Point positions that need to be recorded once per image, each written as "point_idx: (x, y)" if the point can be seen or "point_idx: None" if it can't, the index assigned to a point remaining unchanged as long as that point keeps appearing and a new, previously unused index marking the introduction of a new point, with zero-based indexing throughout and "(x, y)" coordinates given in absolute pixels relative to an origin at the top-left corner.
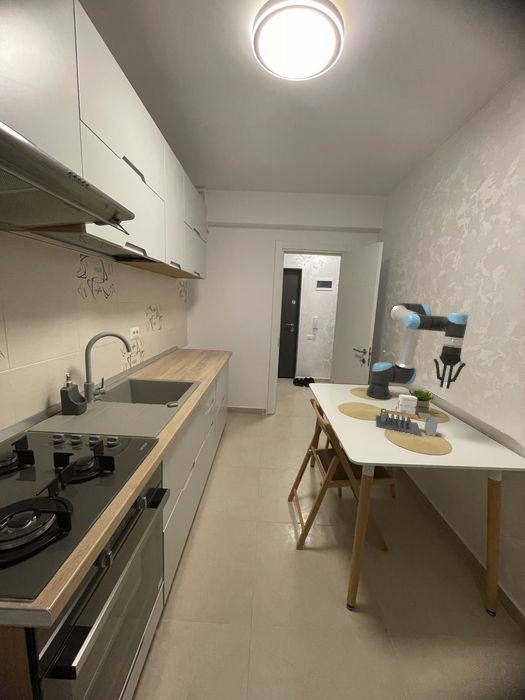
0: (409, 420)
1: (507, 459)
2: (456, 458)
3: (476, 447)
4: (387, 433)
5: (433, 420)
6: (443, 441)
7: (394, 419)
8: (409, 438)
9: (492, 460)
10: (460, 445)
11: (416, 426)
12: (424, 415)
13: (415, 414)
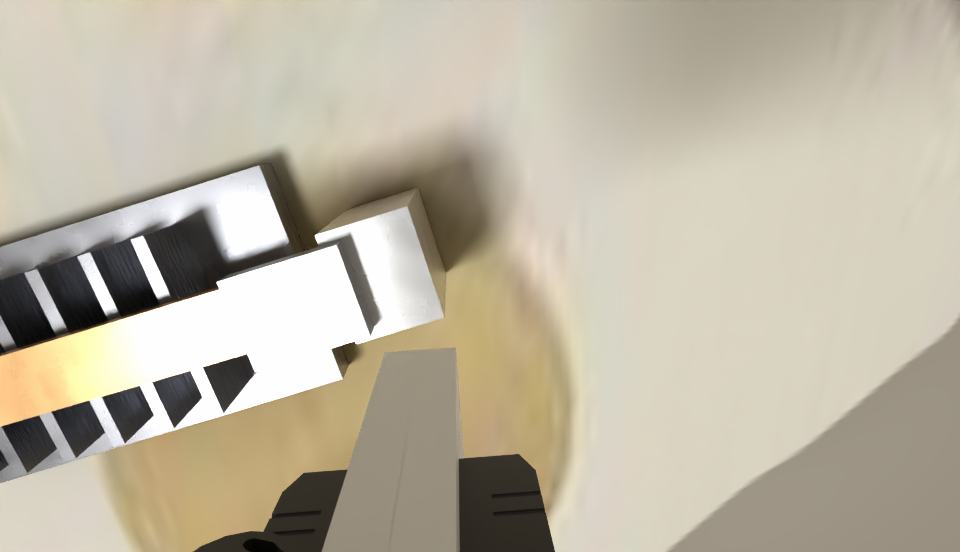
0: (204, 400)
1: (910, 283)
2: (602, 535)
3: (735, 231)
4: (144, 512)
5: (401, 329)
6: (512, 320)
7: (65, 256)
8: (296, 471)
9: (809, 385)
10: (627, 293)
11: None
12: (299, 349)
13: (206, 298)
